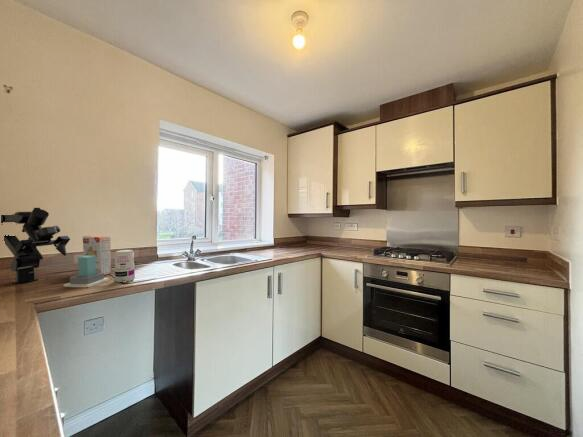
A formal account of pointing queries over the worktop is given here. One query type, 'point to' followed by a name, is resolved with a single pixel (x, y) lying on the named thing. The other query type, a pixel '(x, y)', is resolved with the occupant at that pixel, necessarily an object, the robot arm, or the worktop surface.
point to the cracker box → (98, 252)
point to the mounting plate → (86, 280)
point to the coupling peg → (86, 266)
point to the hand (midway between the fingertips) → (54, 256)
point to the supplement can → (124, 265)
